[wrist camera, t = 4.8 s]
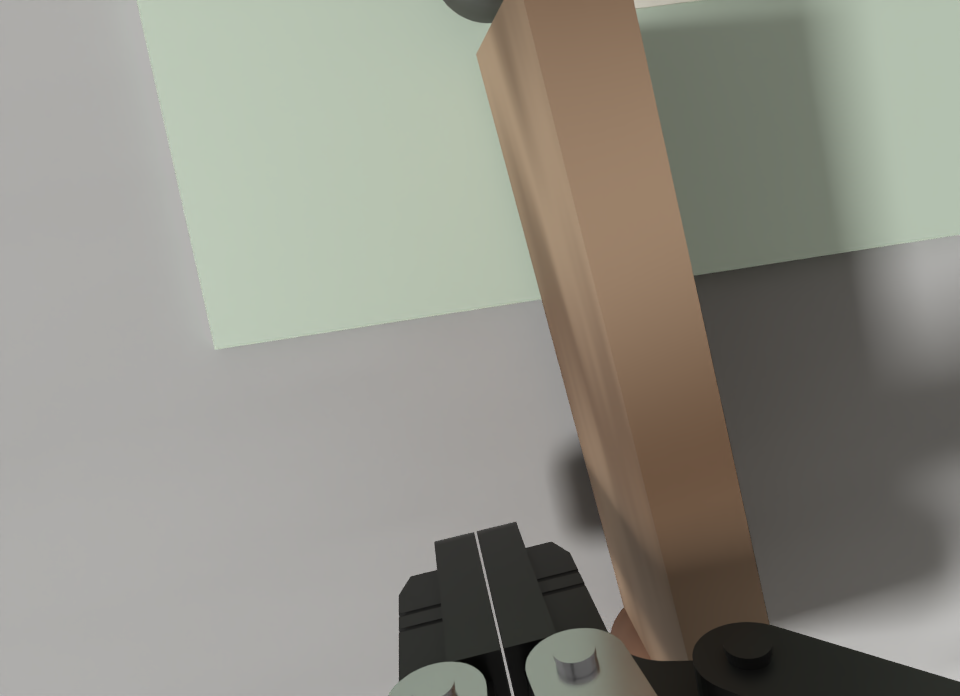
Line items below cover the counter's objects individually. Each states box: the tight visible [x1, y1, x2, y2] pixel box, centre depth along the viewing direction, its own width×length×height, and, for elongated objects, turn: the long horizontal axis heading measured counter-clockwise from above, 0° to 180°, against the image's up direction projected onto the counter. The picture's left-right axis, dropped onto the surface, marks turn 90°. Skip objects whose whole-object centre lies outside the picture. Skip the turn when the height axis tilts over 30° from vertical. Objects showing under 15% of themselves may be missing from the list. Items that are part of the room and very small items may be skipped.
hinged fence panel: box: [443, 0, 769, 661], centre depth 12 cm, size 16×2×6 cm, turn 16°
